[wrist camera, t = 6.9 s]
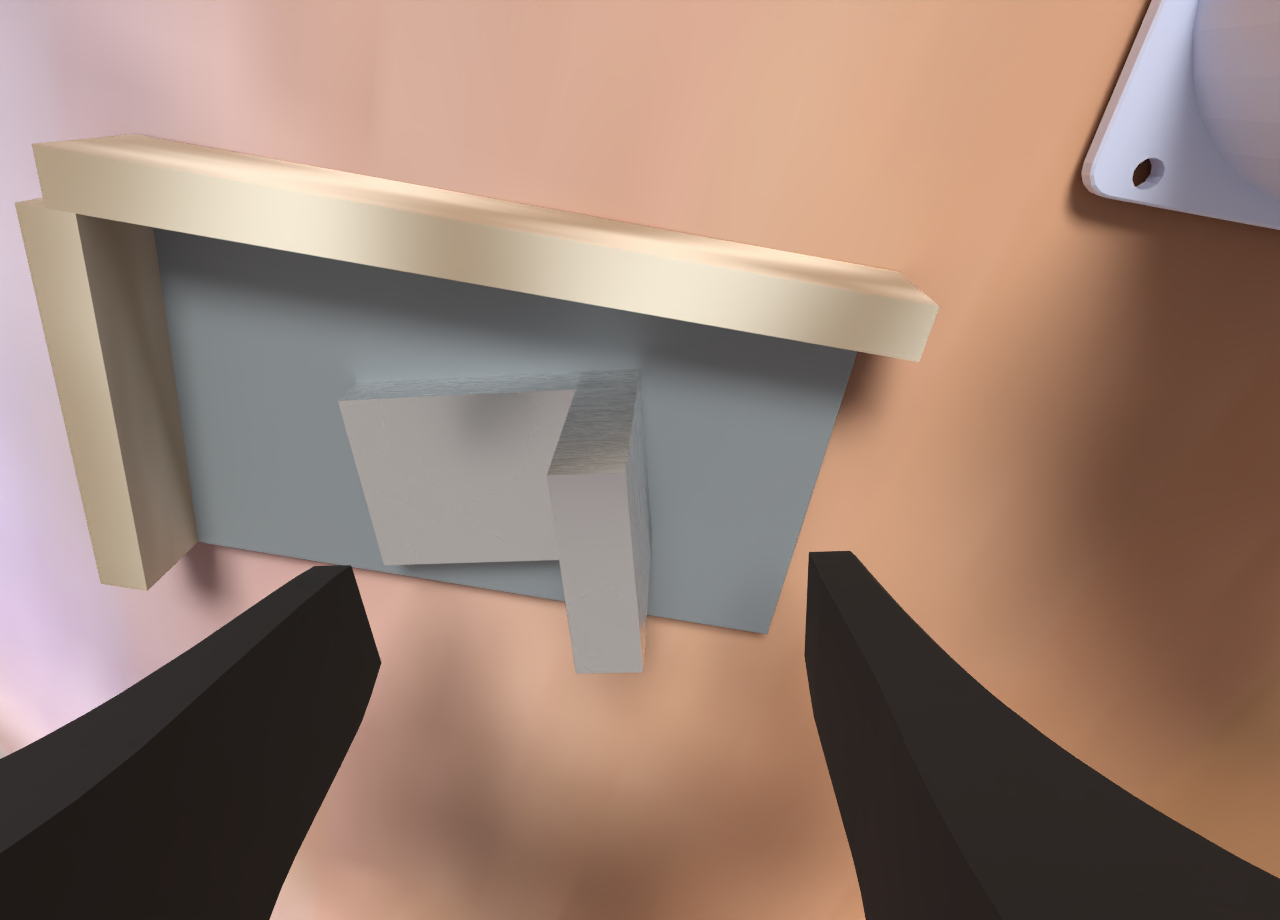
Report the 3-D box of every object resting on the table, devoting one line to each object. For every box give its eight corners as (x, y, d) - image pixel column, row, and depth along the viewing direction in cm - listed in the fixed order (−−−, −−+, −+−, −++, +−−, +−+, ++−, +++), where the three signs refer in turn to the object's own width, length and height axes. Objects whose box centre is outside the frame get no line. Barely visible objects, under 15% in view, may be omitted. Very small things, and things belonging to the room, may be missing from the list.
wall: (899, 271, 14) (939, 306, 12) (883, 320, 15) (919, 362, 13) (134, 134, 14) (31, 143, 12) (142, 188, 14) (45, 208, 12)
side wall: (168, 192, 14) (75, 213, 12) (211, 528, 18) (147, 590, 16) (117, 184, 14) (14, 202, 12) (171, 521, 18) (100, 583, 16)
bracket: (639, 368, 15) (624, 471, 11) (652, 531, 17) (643, 672, 13) (357, 383, 15) (244, 488, 11) (399, 540, 17) (315, 678, 13)
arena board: (859, 316, 15) (866, 324, 14) (764, 618, 19) (767, 634, 18) (168, 192, 14) (148, 197, 14) (211, 528, 18) (198, 542, 18)
